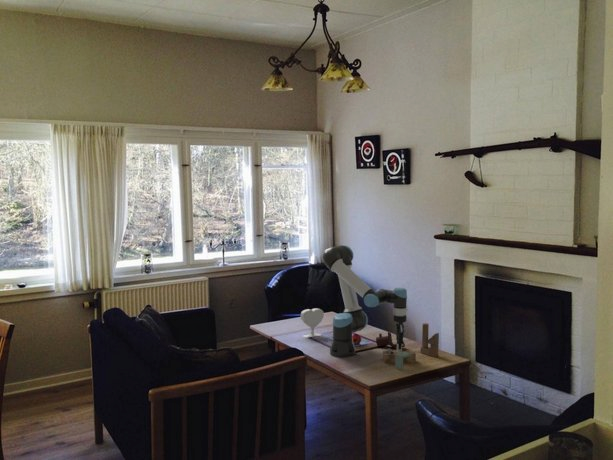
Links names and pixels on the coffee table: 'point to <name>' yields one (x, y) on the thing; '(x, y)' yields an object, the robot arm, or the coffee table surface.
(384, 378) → the coffee table surface
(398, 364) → the keeper
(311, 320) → the heart sculpture
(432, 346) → the wooden block
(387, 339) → the brown toy figure
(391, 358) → the link
